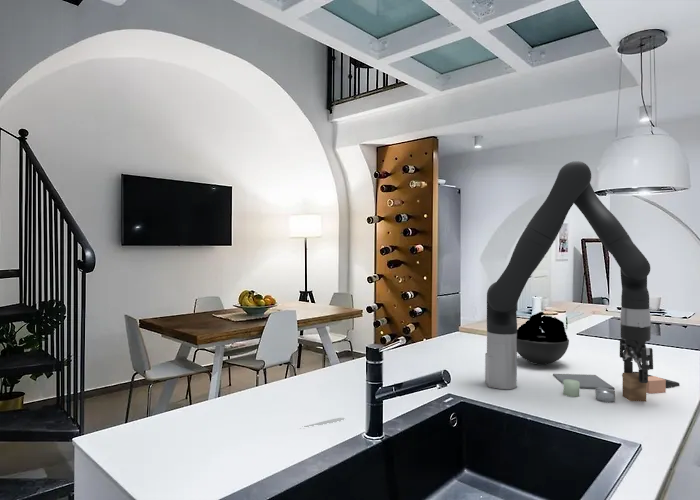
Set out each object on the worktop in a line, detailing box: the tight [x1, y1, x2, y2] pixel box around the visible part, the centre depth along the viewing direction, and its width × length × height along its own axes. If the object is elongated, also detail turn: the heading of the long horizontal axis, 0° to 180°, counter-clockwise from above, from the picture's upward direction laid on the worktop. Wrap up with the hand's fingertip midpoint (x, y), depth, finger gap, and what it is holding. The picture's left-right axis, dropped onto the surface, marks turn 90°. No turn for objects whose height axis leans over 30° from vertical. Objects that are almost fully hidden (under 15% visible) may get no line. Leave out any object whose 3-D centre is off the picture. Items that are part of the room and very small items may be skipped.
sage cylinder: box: [562, 379, 581, 398], centre depth 140 cm, size 4×4×4 cm
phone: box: [621, 371, 680, 389], centre depth 154 cm, size 8×1×15 cm
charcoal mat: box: [552, 373, 615, 391], centre depth 152 cm, size 14×14×1 cm
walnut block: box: [621, 372, 647, 403], centre depth 137 cm, size 4×4×7 cm
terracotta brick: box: [646, 375, 667, 394], centre depth 144 cm, size 6×4×4 cm, turn 102°
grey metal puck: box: [594, 387, 616, 404], centre depth 136 cm, size 5×5×3 cm
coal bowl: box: [517, 311, 570, 366], centre depth 175 cm, size 20×20×19 cm
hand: (635, 378), depth 137 cm, fingers open, 8 cm apart
